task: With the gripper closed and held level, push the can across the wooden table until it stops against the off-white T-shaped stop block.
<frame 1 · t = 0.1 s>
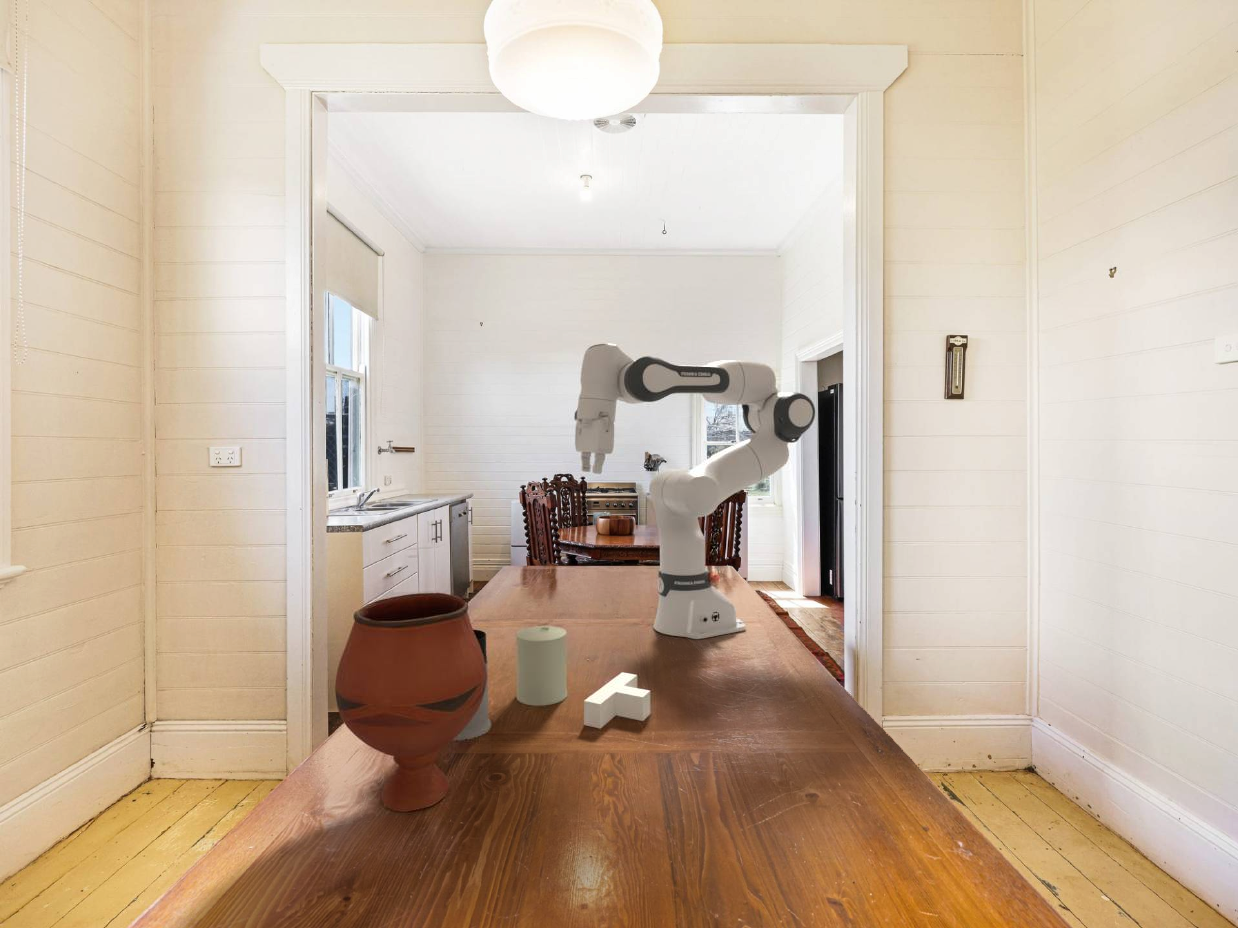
hand: (591, 472, 147), 39 cm above the table, tool pointing down, fingers open, 8 cm apart
glass holder: (454, 736, 99), on the table
goblet: (415, 793, 83), on the table
T stop: (604, 708, 109), on the table
can: (541, 696, 115), on the table
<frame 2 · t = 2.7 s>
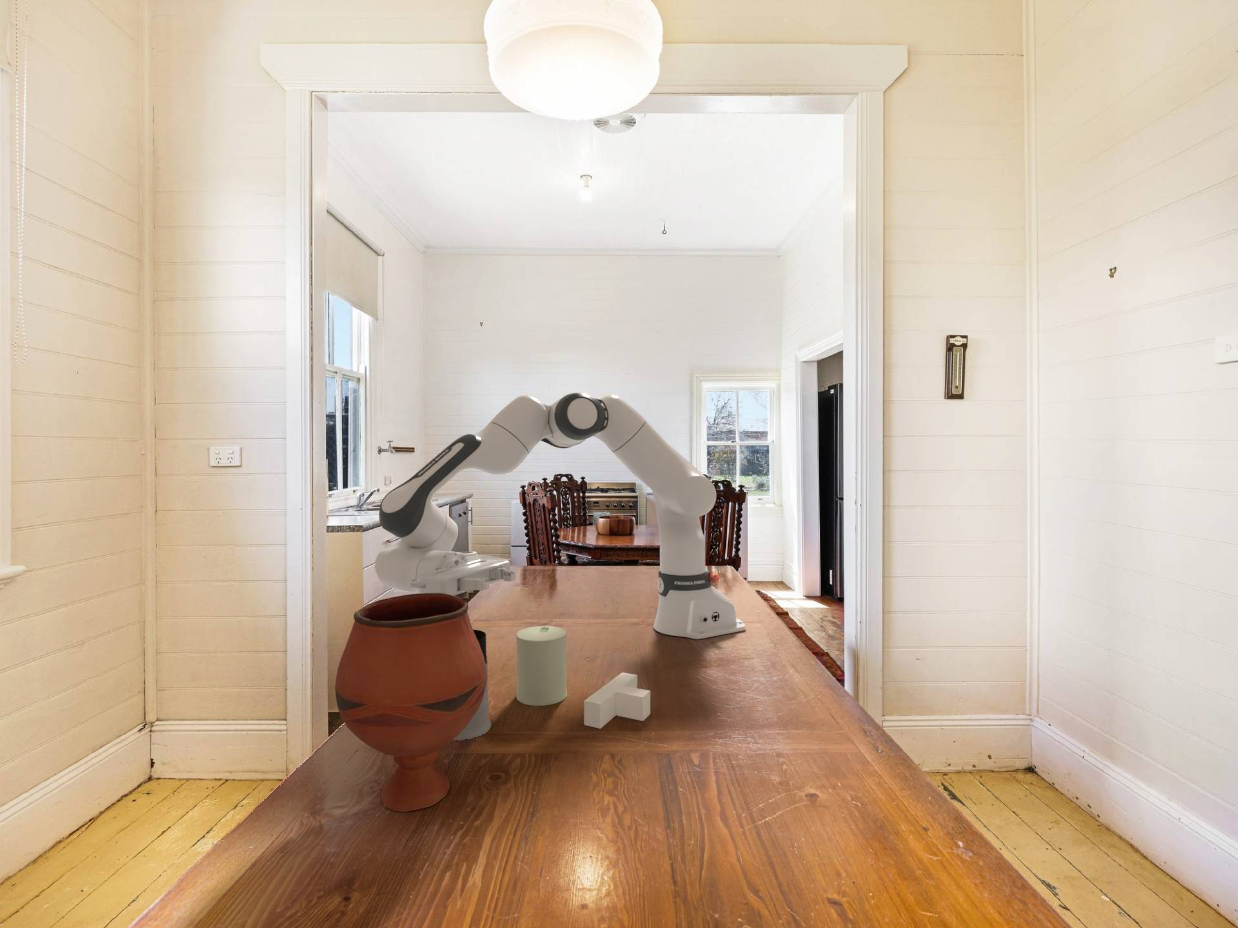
hand: (500, 580, 118), 20 cm above the table, tool horizontal, fingers open, 7 cm apart
nothing on the table moved.
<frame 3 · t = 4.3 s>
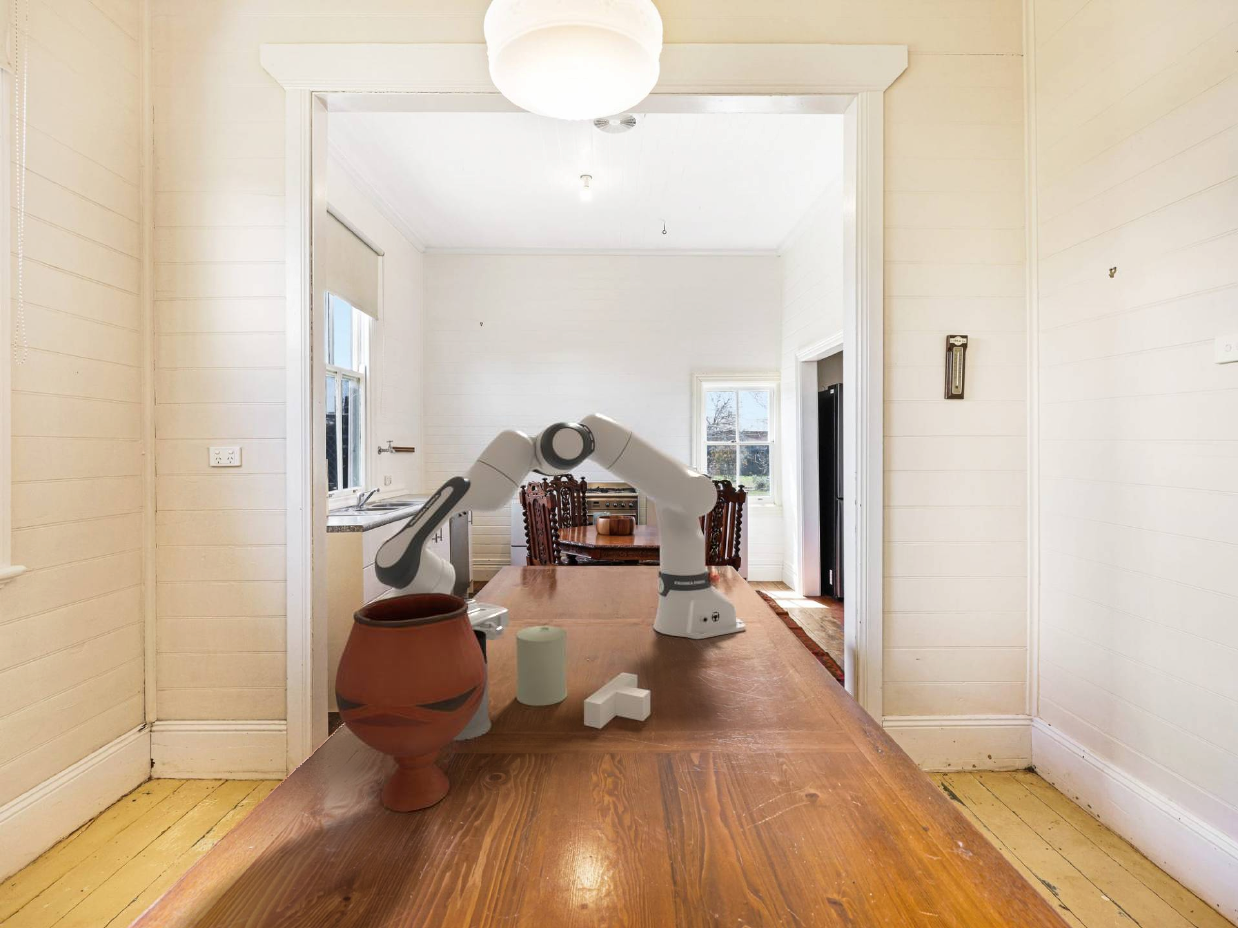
hand: (498, 633, 118), 10 cm above the table, tool horizontal, fingers closed
nothing on the table moved.
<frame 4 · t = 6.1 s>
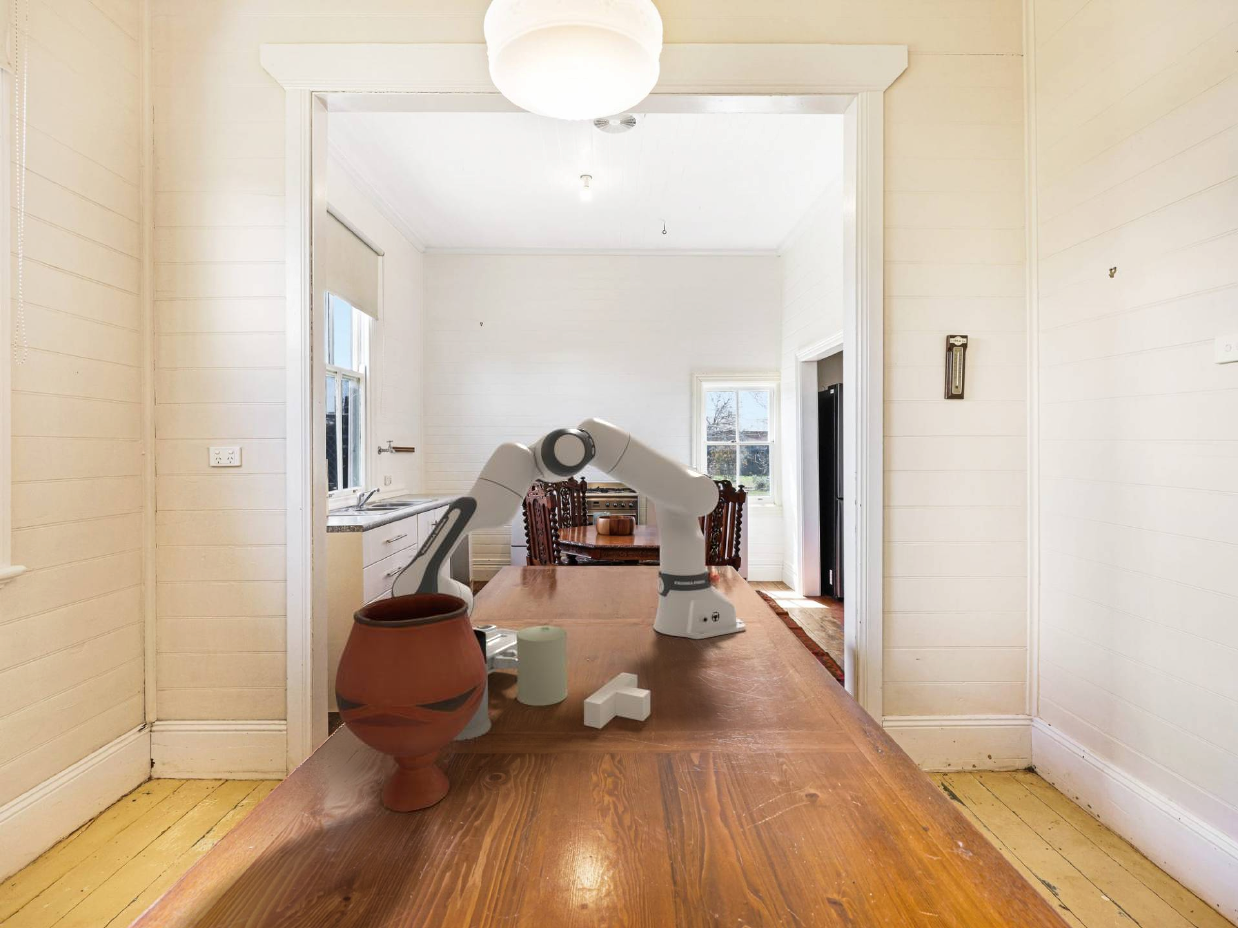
hand: (522, 662, 117), 5 cm above the table, tool horizontal, fingers closed
can: (542, 696, 115), on the table, touching gripper
everything else where it was.
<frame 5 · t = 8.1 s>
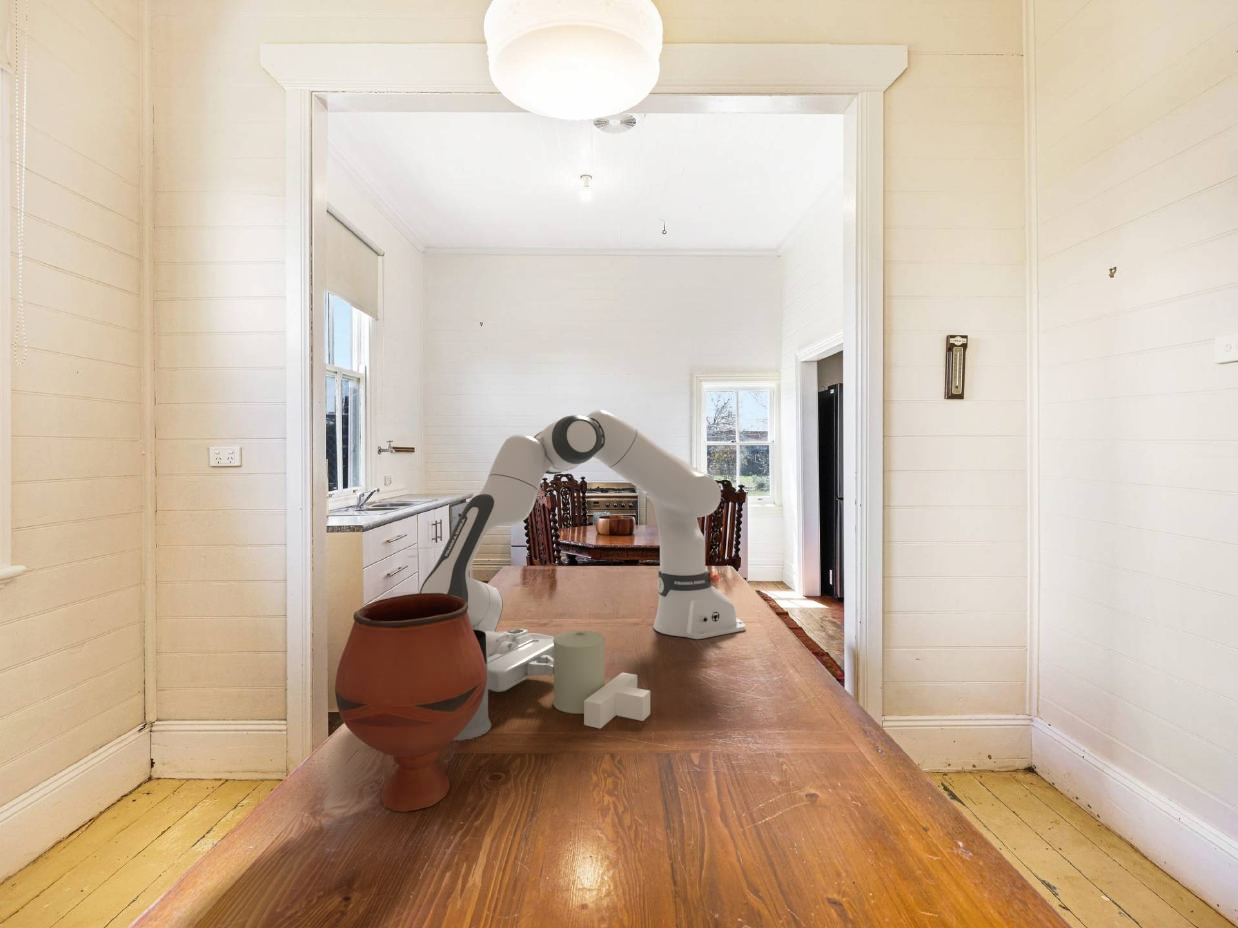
hand: (557, 668, 113), 5 cm above the table, tool horizontal, fingers closed
can: (579, 703, 112), on the table, touching gripper
everything else where it was.
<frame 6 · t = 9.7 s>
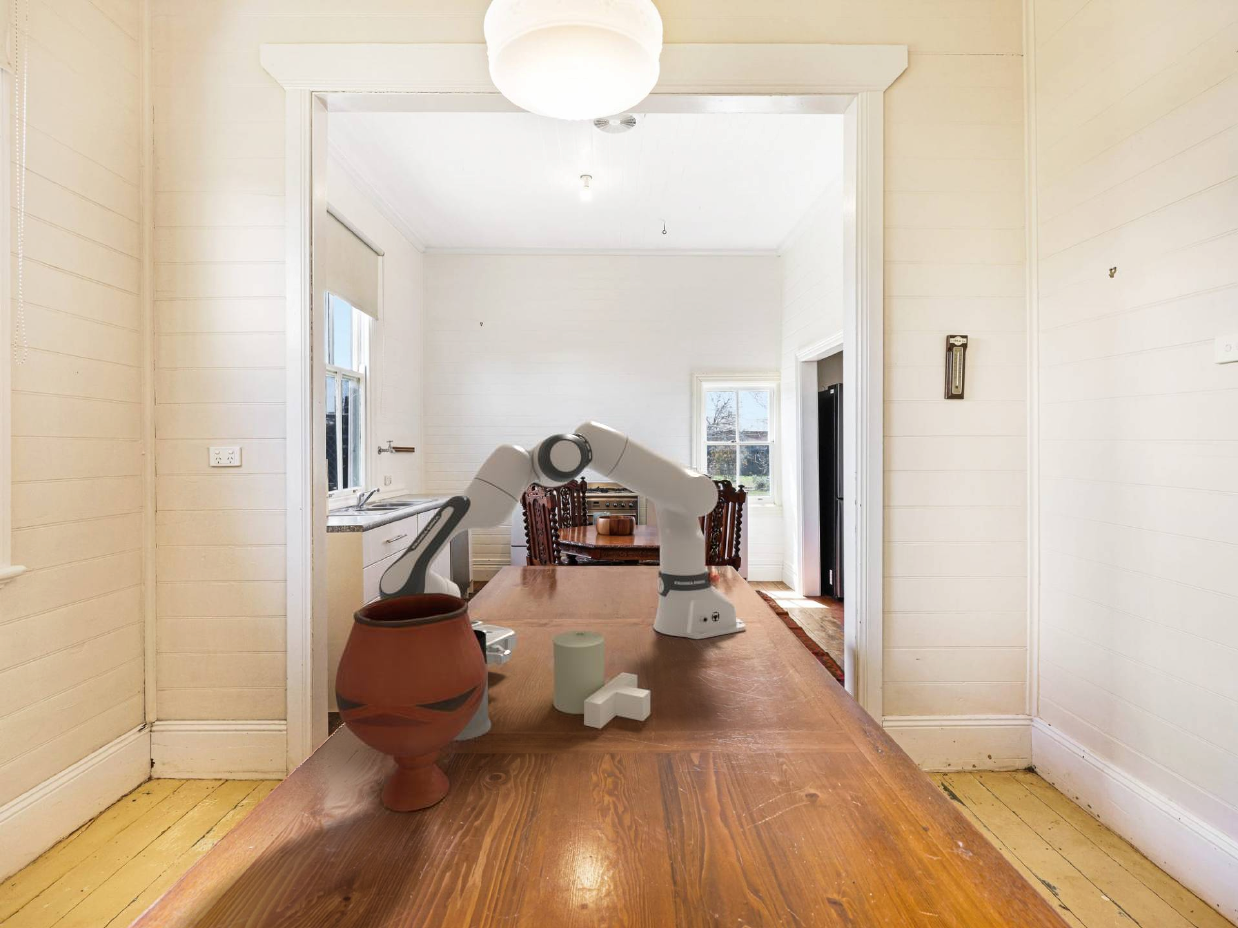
hand: (506, 657, 118), 6 cm above the table, tool horizontal, fingers closed
can: (579, 703, 112), on the table
everything else where it was.
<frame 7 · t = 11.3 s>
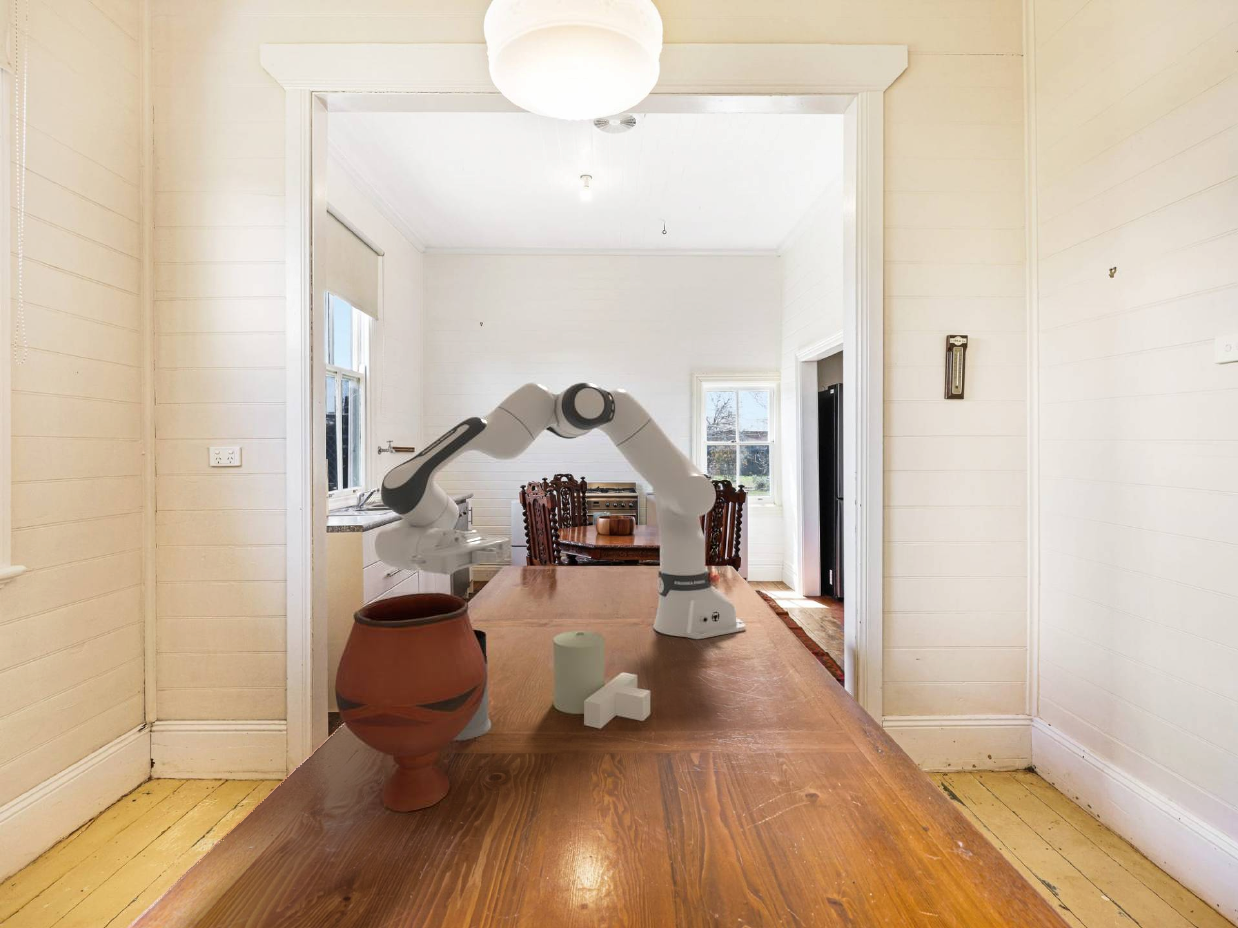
hand: (500, 556, 118), 25 cm above the table, tool horizontal, fingers closed
nothing on the table moved.
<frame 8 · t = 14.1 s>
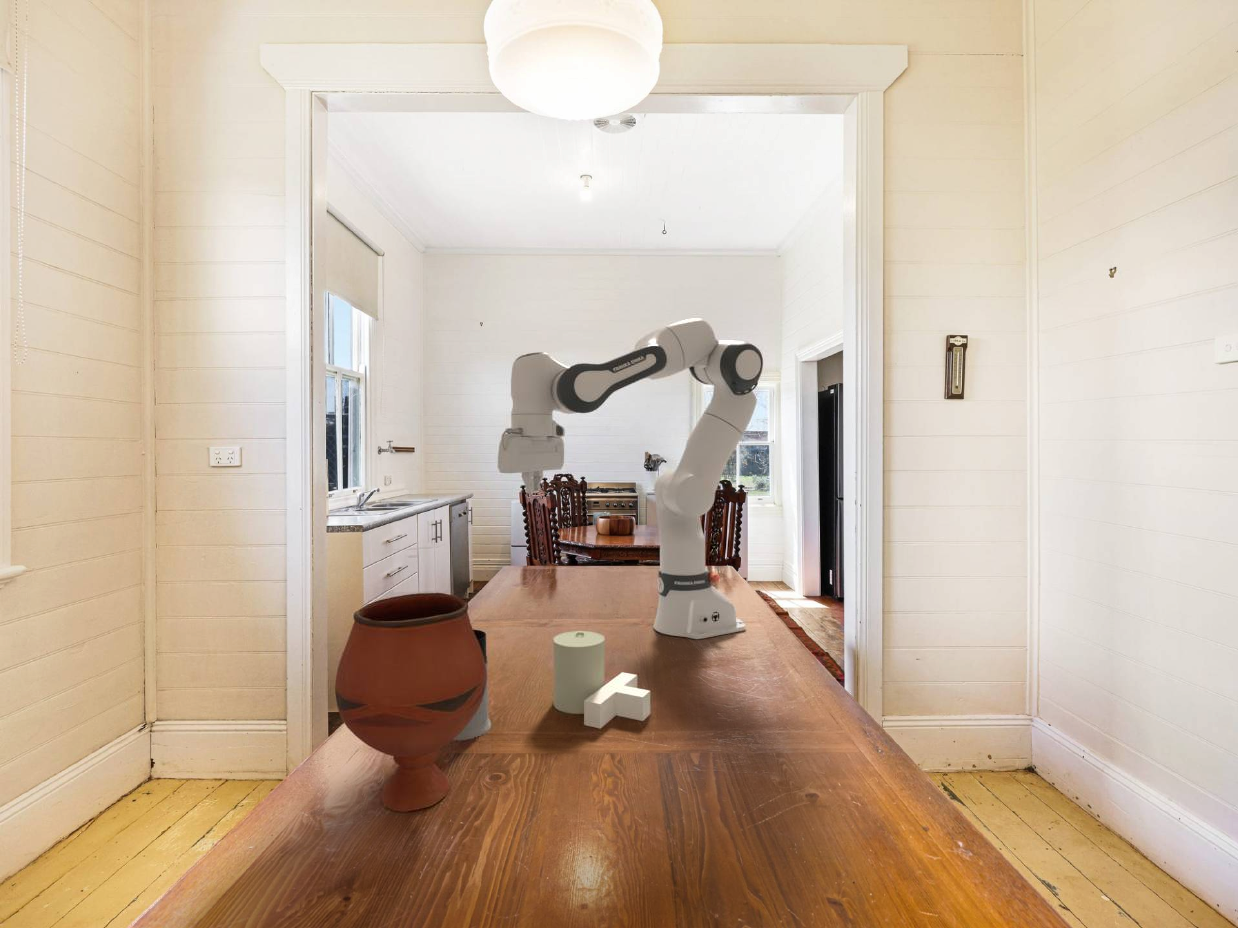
hand: (532, 492, 136), 35 cm above the table, tool pointing down, fingers closed
nothing on the table moved.
at the end: can 5.1 cm from the T stop (horizontally); can tilted 0°; can moved 7.8 cm from its start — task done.
